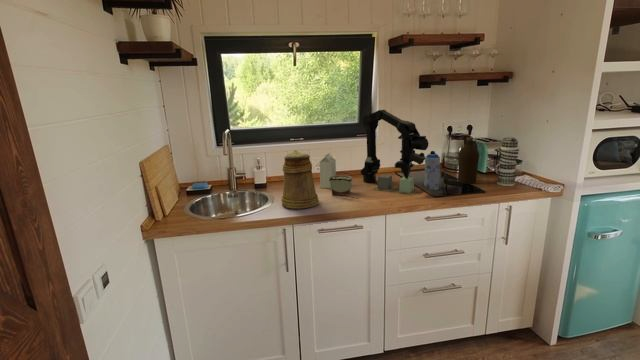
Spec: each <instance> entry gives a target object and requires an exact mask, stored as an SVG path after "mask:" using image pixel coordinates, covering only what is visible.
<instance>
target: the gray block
mask: <svg viewBox="0 0 640 360" xmlns="http://www.w3.org/2000/svg"><path fill="white" fill-rule="evenodd" d="M377 186H378V189H383V190H389V189H390V188H392V186H393V175H391V174H381V175H378V176H377Z"/></svg>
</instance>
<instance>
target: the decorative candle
mask: <svg viewBox="0 0 640 360" xmlns="http://www.w3.org/2000/svg"><path fill="white" fill-rule="evenodd" d="M500 142H501V146H500V148H498V150H499V152H498V157H499V158H498V163H499V167H498V170H497V172H498V173H497V175H498V176H497V180H496V181H497V182H496V184H497V185H499V186H503V187H513V186H515V184H516V181H515V180H516V178H515V177H516V174H517V172H516V166H517V165H516V164H517V163H518V162H517V161H518V157H519V156H518V155H519V151H520V149H518V143H519V140H517V138H516V137H511V136H510V137H504V138H503V139H502V140H500Z"/></svg>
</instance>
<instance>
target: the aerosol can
mask: <svg viewBox="0 0 640 360" xmlns="http://www.w3.org/2000/svg"><path fill="white" fill-rule="evenodd" d="M440 166H441V157H440V156H439V154H437V153H436V151H434V150H431V151H430V153H428V154H427V155H426V156H425V160H424V182H423V183H424V184H423V185H424V186H425V187H428V188H426V190H428V189H430V190H431V191H435V190H439V189H440V187H439V186H440V170H441V169H440ZM430 190H429V191H430Z"/></svg>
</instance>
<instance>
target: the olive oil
mask: <svg viewBox="0 0 640 360" xmlns="http://www.w3.org/2000/svg"><path fill="white" fill-rule="evenodd" d="M465 141H466V142H465V145H464V146H463V147H462V148H461V149H460V150H459V151H458V155H457V158H458V159H457V162H458V164H457V167H458V168H457V182H458V183H461V184H464V185H466V184H467V185H470V184H475V183H477V175H478V168H479V166H478V165H479V159H480V153H479V150H478V149H477V148H476V147H475V146H474V144H473V143H474V139H473V137H470V136H469V137H466V140H465Z"/></svg>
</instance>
